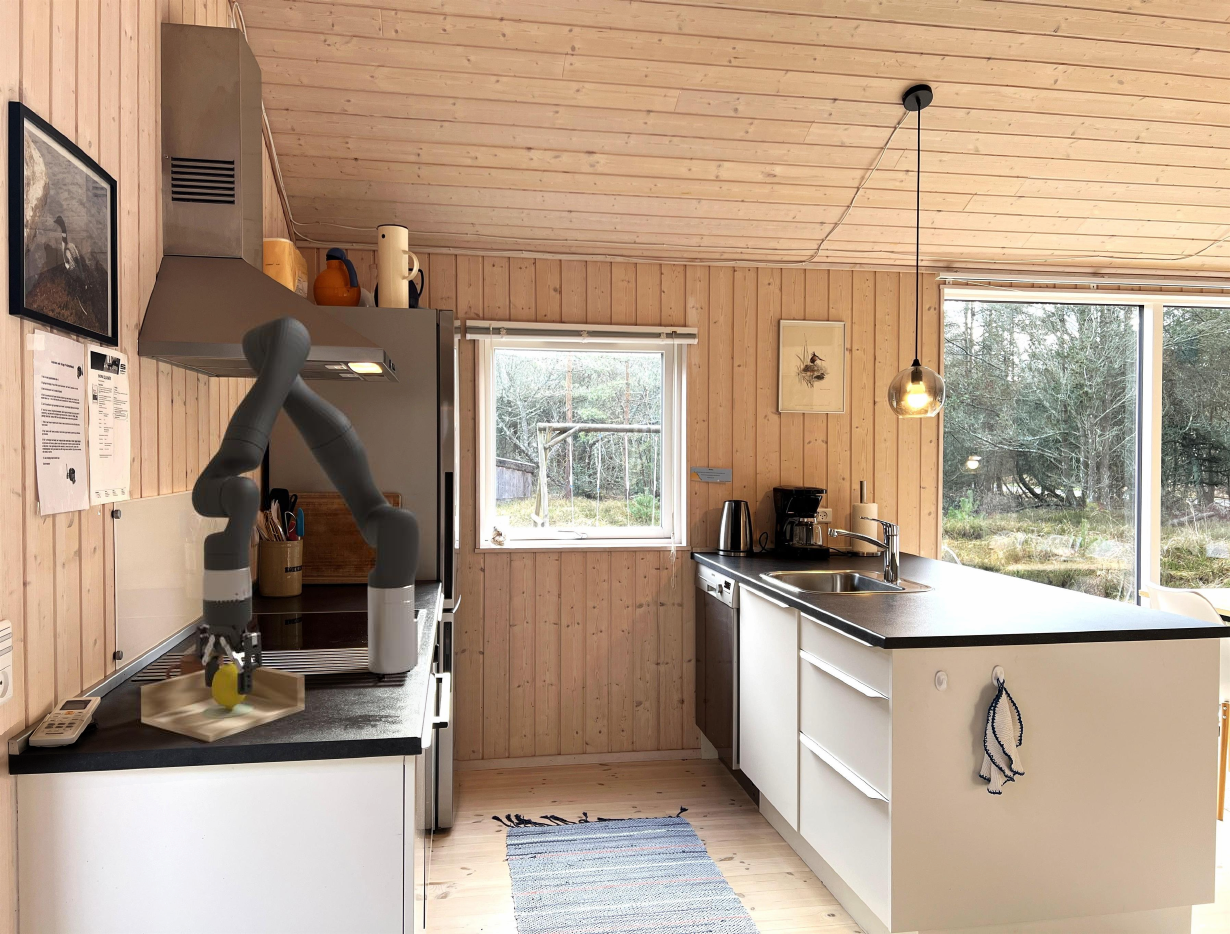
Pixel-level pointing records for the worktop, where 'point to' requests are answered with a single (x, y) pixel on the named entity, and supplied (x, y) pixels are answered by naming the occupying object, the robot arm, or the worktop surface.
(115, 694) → the worktop surface
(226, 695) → the lemon
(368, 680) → the worktop surface
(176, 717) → the tray
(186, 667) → the cup and saucer
